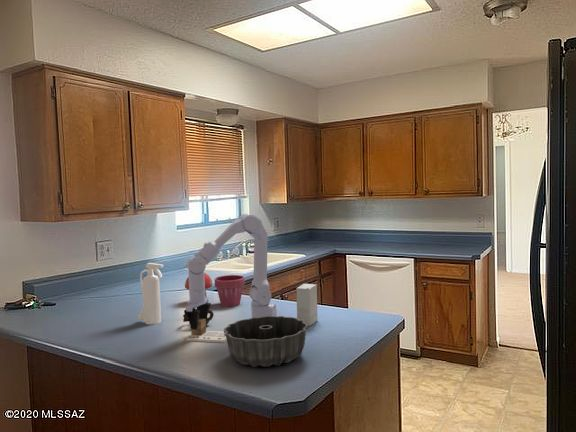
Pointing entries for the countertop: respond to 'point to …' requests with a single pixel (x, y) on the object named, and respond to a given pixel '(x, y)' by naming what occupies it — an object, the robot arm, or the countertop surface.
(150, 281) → the fire extinguisher
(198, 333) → the walnut block
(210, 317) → the pottery mug
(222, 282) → the plant pot
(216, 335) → the board
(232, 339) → the bundt pan
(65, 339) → the countertop surface
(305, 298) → the skincare box
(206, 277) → the decorative mushroom
